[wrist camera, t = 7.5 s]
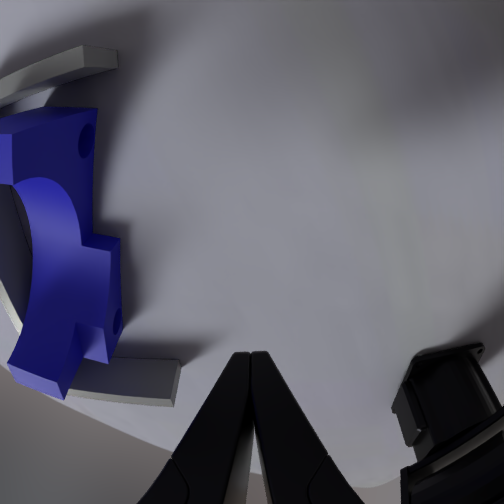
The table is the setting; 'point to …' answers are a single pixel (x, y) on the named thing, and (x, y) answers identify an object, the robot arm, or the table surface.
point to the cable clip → (61, 248)
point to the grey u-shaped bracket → (21, 262)
